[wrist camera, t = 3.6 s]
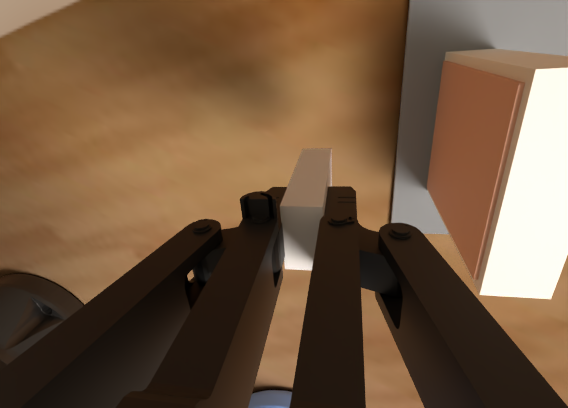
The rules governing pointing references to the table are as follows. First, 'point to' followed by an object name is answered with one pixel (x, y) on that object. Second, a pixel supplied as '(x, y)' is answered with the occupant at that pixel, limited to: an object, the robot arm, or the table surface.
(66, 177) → the table surface
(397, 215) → the rubber mat
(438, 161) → the wooden plaque
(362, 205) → the table surface
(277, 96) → the table surface
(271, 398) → the water jug
